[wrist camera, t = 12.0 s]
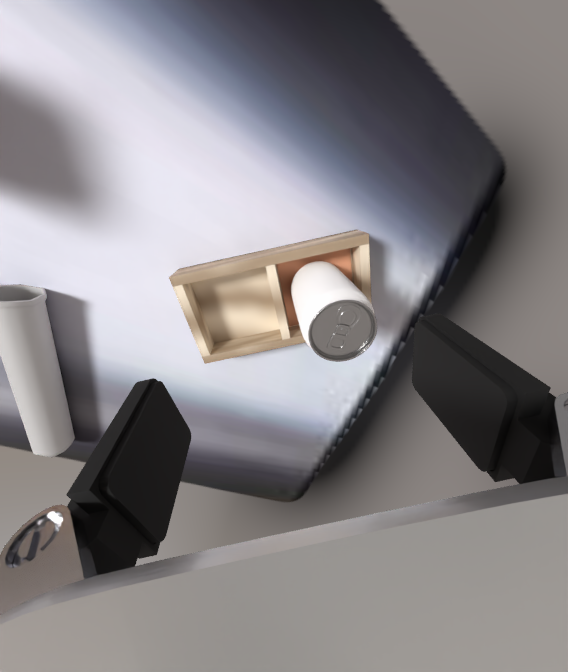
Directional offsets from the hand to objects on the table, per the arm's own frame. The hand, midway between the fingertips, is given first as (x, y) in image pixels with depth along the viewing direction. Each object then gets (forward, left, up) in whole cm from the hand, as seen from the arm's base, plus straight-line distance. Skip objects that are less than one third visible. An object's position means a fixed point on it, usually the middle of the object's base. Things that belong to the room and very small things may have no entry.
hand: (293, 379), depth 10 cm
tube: (+9, -33, -24) cm, 42 cm away
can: (+5, +5, -23) cm, 24 cm away
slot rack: (+5, 0, -24) cm, 24 cm away
